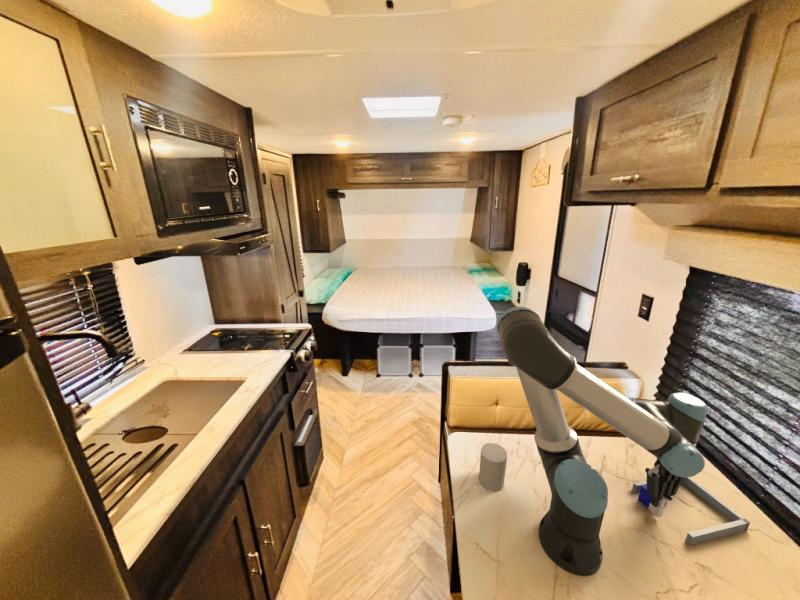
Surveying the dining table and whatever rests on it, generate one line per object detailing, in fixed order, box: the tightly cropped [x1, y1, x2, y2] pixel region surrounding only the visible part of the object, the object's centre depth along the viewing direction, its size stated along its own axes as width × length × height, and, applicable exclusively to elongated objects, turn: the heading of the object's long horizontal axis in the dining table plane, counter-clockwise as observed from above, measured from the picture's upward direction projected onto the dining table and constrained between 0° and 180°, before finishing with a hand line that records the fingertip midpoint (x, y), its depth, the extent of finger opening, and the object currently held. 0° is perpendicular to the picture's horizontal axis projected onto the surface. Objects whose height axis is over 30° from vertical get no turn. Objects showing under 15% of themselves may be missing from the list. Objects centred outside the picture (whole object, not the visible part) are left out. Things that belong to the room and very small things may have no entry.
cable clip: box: [637, 484, 673, 509], centre depth 95 cm, size 12×4×6 cm, turn 112°
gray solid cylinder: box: [478, 442, 508, 493], centre depth 101 cm, size 8×8×12 cm
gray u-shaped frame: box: [631, 477, 751, 546], centre depth 93 cm, size 20×17×3 cm
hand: (654, 512), depth 91 cm, fingers closed
